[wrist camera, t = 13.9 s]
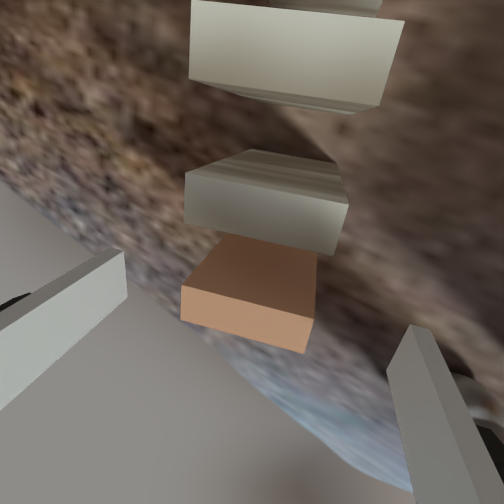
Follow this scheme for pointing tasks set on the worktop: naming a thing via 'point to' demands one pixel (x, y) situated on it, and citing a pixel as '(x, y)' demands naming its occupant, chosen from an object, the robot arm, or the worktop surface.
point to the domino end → (254, 291)
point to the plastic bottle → (481, 404)
